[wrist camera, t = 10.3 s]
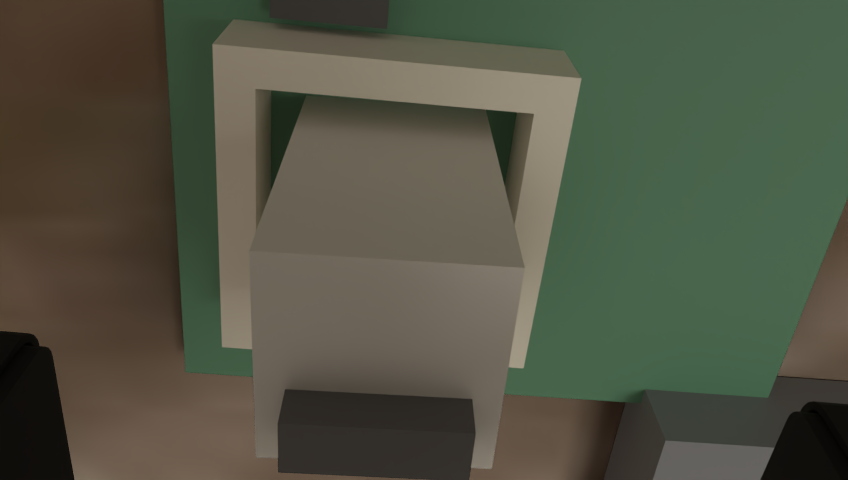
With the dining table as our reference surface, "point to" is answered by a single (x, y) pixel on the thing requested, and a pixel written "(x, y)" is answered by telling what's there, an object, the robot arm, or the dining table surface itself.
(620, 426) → the grey knob block
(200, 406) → the dining table surface
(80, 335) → the dining table surface
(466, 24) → the board
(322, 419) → the plug
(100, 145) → the dining table surface
